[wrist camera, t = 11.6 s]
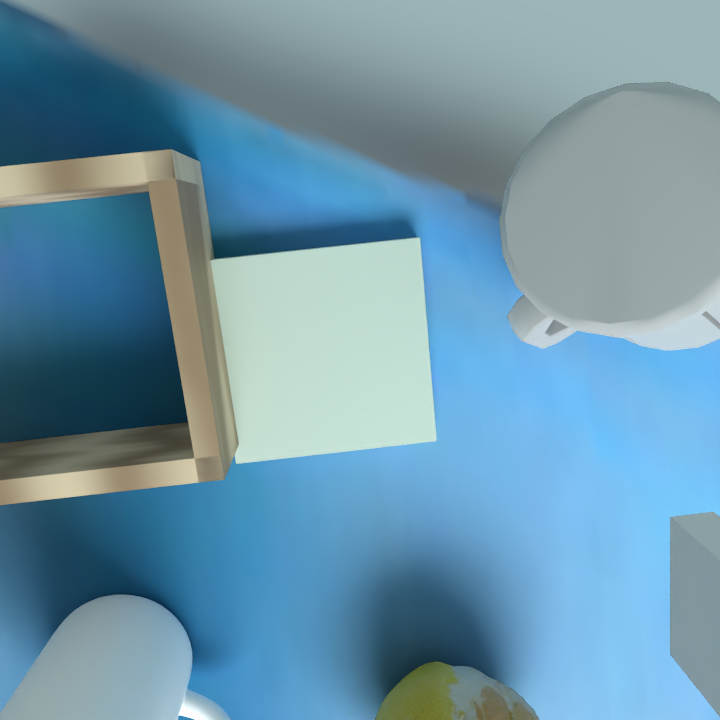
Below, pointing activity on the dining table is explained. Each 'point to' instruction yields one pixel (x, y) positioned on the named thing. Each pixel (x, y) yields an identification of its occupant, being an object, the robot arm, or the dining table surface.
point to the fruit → (452, 696)
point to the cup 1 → (113, 668)
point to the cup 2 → (619, 220)
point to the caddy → (190, 329)
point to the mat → (326, 349)
